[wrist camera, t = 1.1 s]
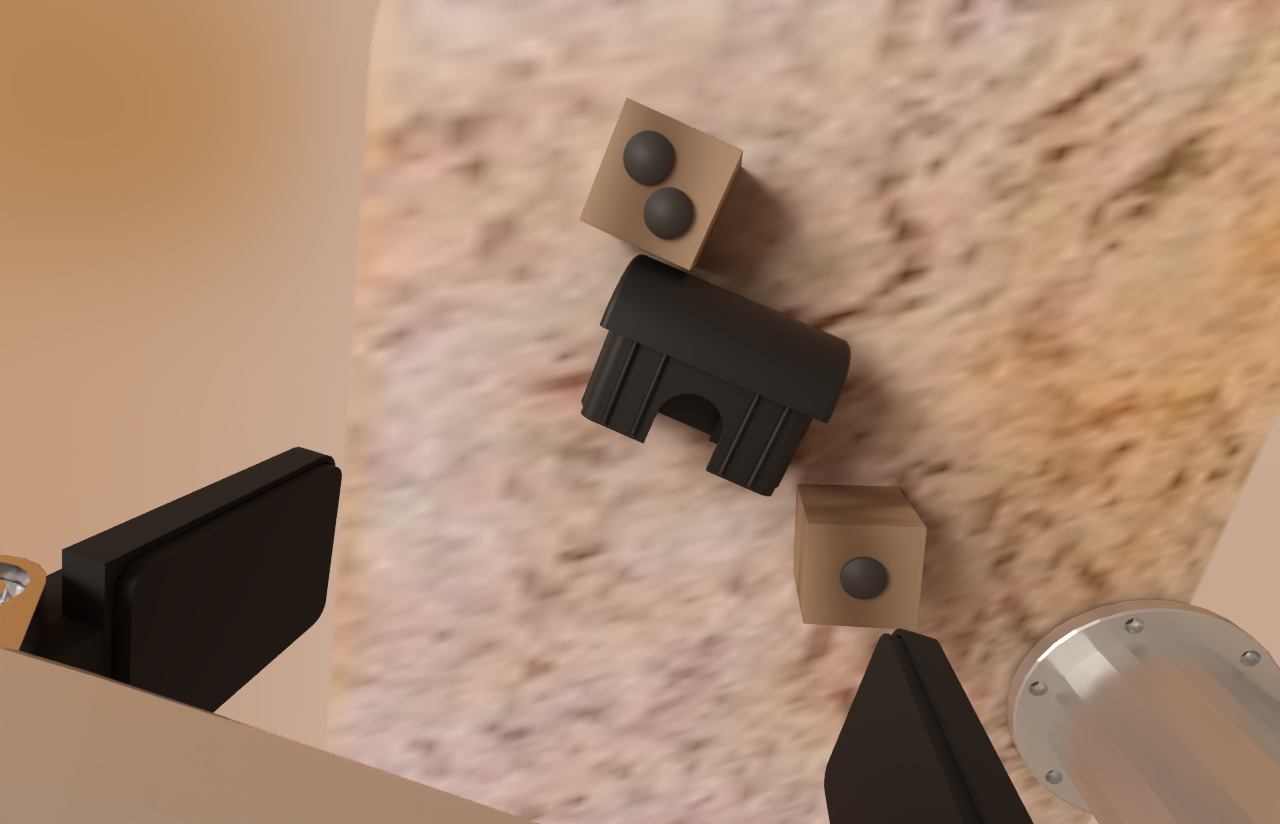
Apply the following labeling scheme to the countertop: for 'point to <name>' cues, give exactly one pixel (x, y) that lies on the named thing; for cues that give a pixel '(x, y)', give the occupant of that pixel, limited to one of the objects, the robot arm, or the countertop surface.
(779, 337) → the black arched block
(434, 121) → the countertop surface
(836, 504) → the marked block
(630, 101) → the marked block
